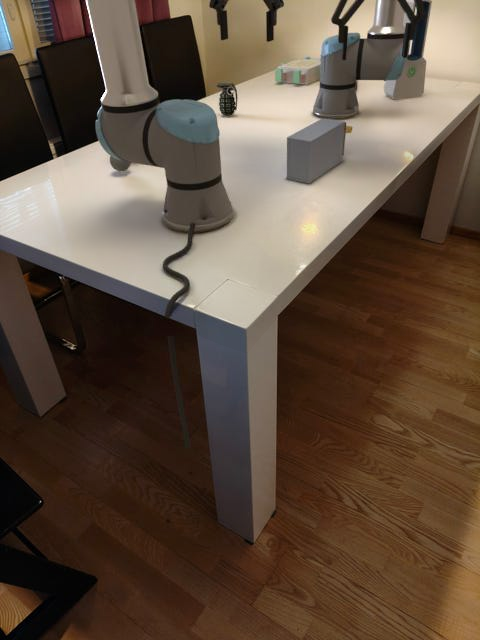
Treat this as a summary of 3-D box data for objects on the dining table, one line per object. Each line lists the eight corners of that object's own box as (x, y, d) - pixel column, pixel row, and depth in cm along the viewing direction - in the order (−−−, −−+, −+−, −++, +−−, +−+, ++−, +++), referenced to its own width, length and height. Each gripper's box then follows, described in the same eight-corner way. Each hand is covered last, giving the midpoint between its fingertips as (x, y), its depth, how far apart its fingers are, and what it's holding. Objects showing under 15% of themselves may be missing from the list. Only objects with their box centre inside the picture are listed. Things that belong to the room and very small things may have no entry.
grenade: (217, 117, 168) (214, 86, 162) (221, 112, 172) (219, 82, 166) (235, 117, 166) (233, 86, 160) (239, 113, 171) (238, 82, 165)
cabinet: (320, 157, 133) (322, 118, 127) (341, 161, 130) (345, 121, 124) (286, 178, 122) (286, 137, 116) (309, 183, 119) (310, 141, 113)
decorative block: (298, 54, 217) (338, 57, 207) (297, 70, 220) (337, 74, 211) (266, 66, 200) (309, 70, 191) (266, 83, 204) (308, 87, 195)
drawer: (335, 146, 137) (338, 114, 132) (353, 149, 135) (356, 116, 129) (295, 171, 124) (296, 137, 118) (313, 175, 121) (315, 140, 116)
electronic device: (392, 100, 174) (405, 0, 156) (382, 95, 180) (394, -2, 162) (423, 96, 177) (440, -3, 158) (412, 91, 182) (427, -5, 164)
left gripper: (298, -66, 113) (296, 39, 126) (207, -60, 123) (213, 36, 136) (285, -65, 108) (284, 43, 121) (190, -59, 118) (199, 41, 131)
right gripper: (325, -56, 97) (319, 63, 110) (454, -63, 95) (433, 58, 108) (323, -56, 103) (318, 56, 116) (445, -63, 101) (426, 52, 114)
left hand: (246, 40), depth 128 cm, fingers open, 13 cm apart
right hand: (373, 58), depth 112 cm, fingers open, 13 cm apart
